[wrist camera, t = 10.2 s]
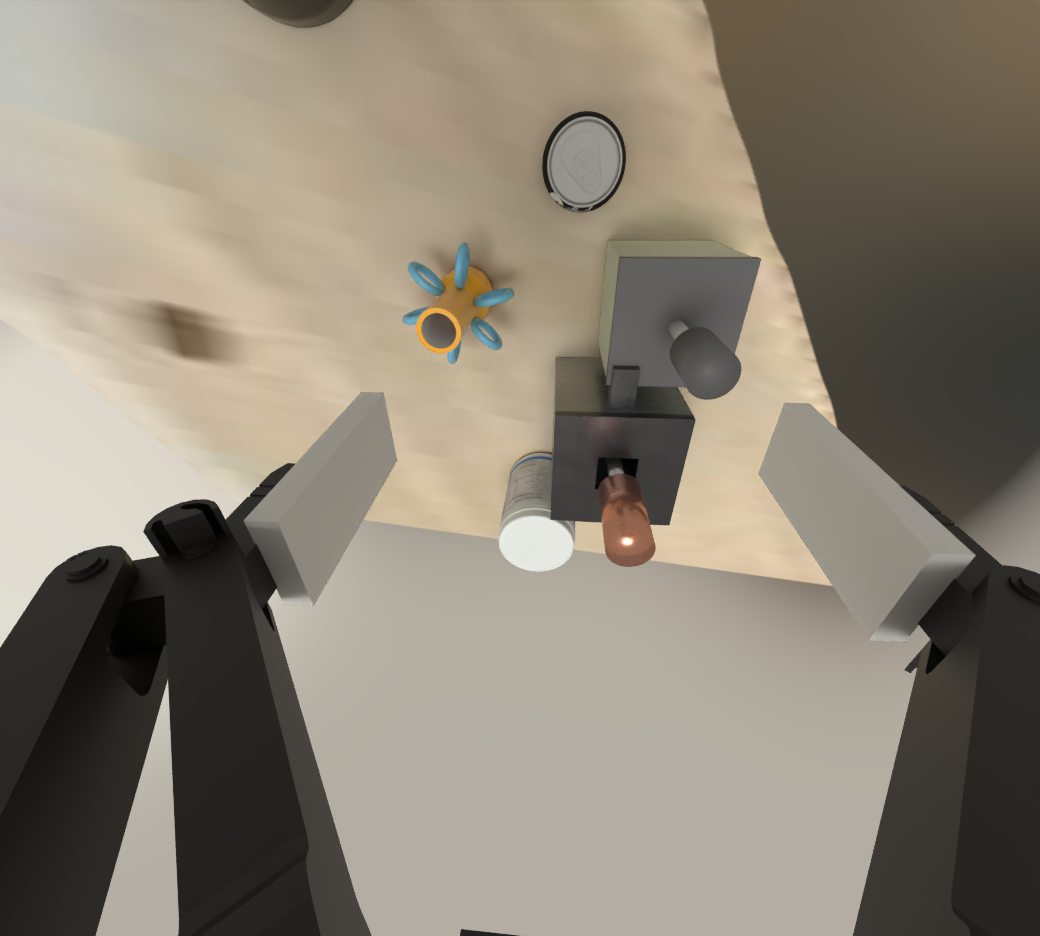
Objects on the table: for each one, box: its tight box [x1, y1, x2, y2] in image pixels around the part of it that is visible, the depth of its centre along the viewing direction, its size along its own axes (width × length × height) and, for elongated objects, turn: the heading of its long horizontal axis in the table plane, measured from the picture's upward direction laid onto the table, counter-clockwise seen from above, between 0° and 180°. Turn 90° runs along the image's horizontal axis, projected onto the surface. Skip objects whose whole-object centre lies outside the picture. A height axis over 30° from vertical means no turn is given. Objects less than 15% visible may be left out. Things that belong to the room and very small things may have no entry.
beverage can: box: [542, 111, 626, 212], centre depth 38 cm, size 7×7×12 cm
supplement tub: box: [499, 453, 575, 571], centre depth 58 cm, size 10×10×15 cm
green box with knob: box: [598, 240, 761, 400], centre depth 39 cm, size 11×11×24 cm
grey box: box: [550, 357, 695, 525], centre depth 49 cm, size 17×13×16 cm
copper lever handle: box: [598, 458, 656, 567], centre depth 43 cm, size 4×4×19 cm
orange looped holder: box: [402, 243, 514, 364], centre depth 44 cm, size 12×10×15 cm
